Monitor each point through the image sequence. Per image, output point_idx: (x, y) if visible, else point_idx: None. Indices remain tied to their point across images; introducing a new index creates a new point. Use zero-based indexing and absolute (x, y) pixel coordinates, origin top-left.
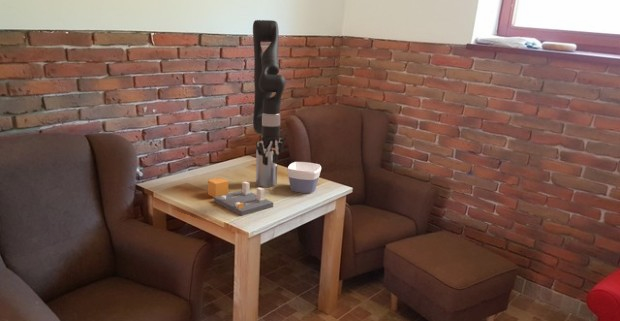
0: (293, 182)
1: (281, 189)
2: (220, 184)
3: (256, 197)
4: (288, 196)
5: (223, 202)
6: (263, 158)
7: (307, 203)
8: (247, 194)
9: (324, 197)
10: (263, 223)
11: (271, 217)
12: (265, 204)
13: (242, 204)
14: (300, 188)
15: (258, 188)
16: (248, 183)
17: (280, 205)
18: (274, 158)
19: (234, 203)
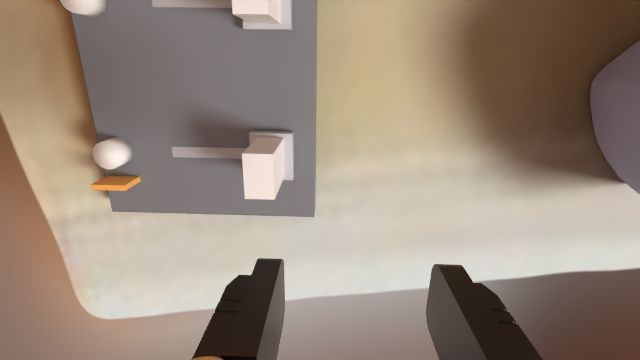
0: (626, 117)
1: (572, 12)
2: None
3: (256, 139)
4: (493, 142)
5: (78, 36)
6: (210, 351)
7: (477, 271)
8: (261, 29)
9: (612, 267)
10: (169, 307)
11: None
12: (262, 213)
13: (121, 188)
14: (612, 152)
15: (249, 166)
16: (256, 14)
17: (358, 213)
18: (451, 348)
19: (125, 99)
